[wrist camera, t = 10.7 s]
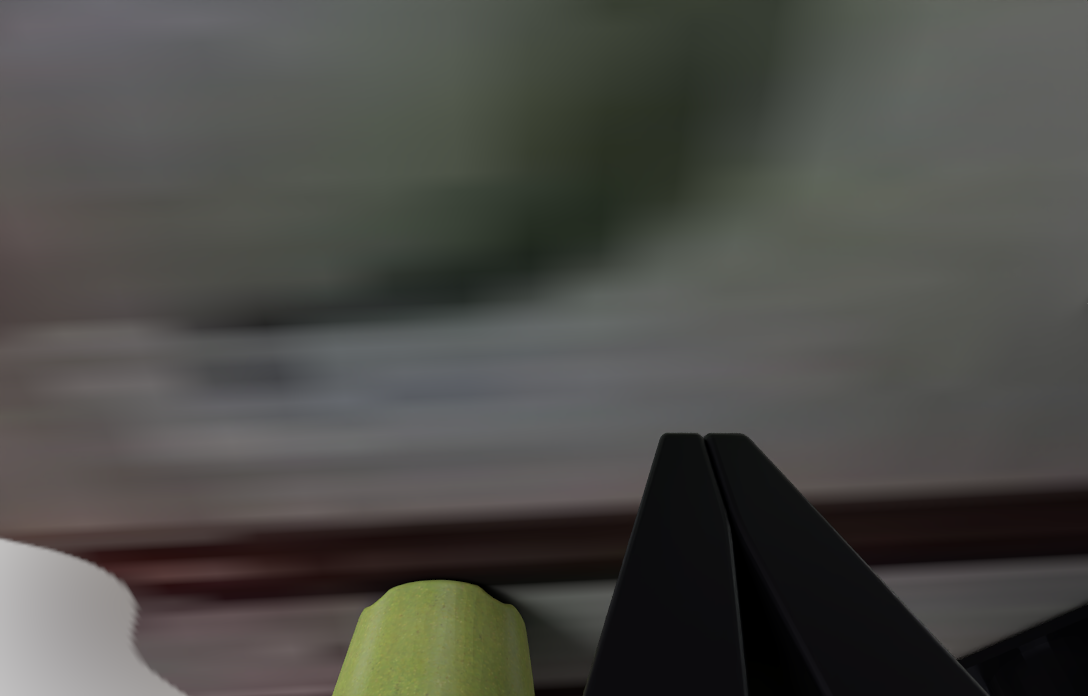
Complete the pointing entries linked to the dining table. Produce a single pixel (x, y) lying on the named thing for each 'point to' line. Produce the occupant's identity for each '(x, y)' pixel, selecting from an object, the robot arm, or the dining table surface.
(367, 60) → the dining table surface
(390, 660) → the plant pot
